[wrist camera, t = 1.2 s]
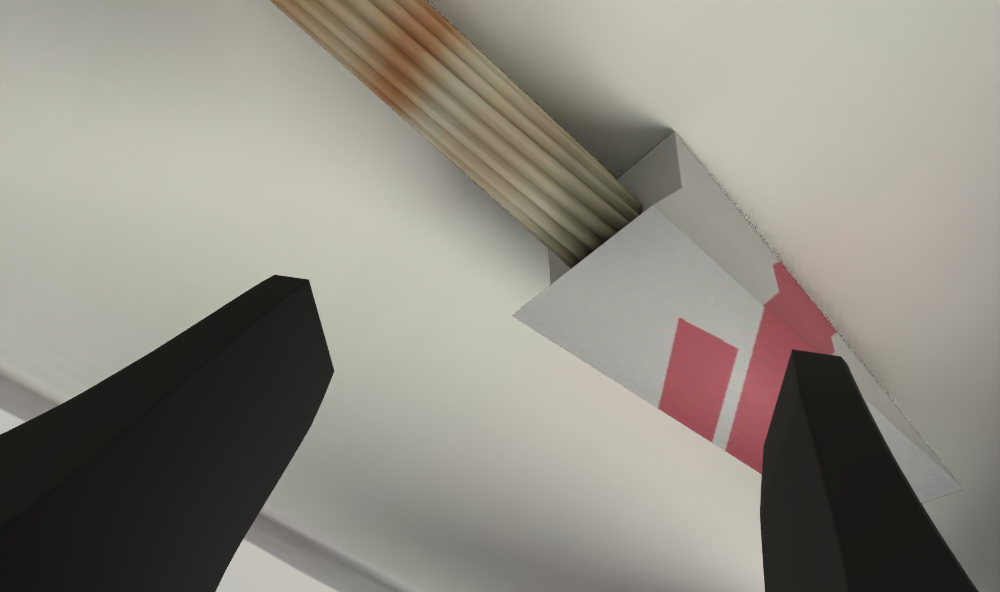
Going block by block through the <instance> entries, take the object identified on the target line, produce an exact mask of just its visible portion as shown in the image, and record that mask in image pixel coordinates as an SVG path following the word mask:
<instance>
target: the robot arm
mask: <svg viewBox="0 0 1000 592" xmlns="http://www.w3.org/2000/svg"><path fill="white" fill-rule="evenodd" d="M333 373H334V368H333V365H332V361H331V358H330V354H329V350H328V347H327V343H326V340H325V336H324V333H323V329H322V325H321V322H320V318H319V315H318V311H317V307H316V304H315V300H314V297H313V293H312V290H311V286H310V282H309V280H307V279H300V278H293V277H286V276H279V275H274V276H272V277H270V278H268V279H266V280H265V281H263V282H261V283H260V284H258V285H256V286H255V287H253V288H251V289H250V290H248V291H246V292H245V293H243V294H242V295H240V296H239V297H237V298H235V299H234V300H232V301H231V302H229V303H228V304H226V305H224V306H223V307H221V308H220V309H218V310H217V311H215V312H214V313H212V314H211V315H209V316H207V317H206V318H204V319H203V320H201V321H200V322H198V323H197V324H195V325H193V326H192V327H190V328H189V329H187V330H186V331H184V332H182V333H181V334H179V335H178V336H176V337H175V338H173V339H171V340H170V341H168V342H167V343H165V344H164V345H162V346H160V347H159V348H157V349H156V350H154V351H152V352H151V353H149V354H148V355H146V356H144V357H143V358H141V359H139V360H137V361H136V362H134V363H132V364H131V365H129V366H127V367H126V368H124V369H122V370H120V371H119V372H117V373H115V374H114V375H112V376H110V377H109V378H107V379H105V380H103V381H102V382H100V383H98V384H97V385H95V386H93V387H92V388H90V389H88V390H86V391H85V392H83V393H81V394H79V395H77V396H76V397H74V398H72V399H70V400H68V401H66V402H64V403H63V404H61V405H59V406H57V407H55V408H53V409H51V410H49V411H47V412H45V413H43V414H41V415H39V416H37V417H35V418H33V419H31V420H29V421H27V422H25V423H23V424H21V425H19V426H17V427H15V428H13V429H11V430H9V431H7V432H5V433H3V434H1V435H0V592H215V591H216V589H217V587H218V585H219V583H220V581H221V578H222V577H223V575H224V573H225V570H226V569H227V567H228V565H229V563H230V561H231V559H232V558H233V556H234V554H235V552H236V550H237V548H238V547H239V545H240V543H241V542H242V540H243V538H244V537H245V535H246V533H247V532H248V530H249V528H250V527H251V525H252V523H253V522H254V520H255V519H256V517H257V515H258V514H259V512H260V510H261V509H262V507H263V505H264V504H265V502H266V500H267V499H268V497H269V495H270V494H271V492H272V491H273V489H274V487H275V486H276V484H277V482H278V481H279V479H280V477H281V476H282V474H283V472H284V471H285V469H286V467H287V466H288V464H289V462H290V461H291V459H292V457H293V456H294V454H295V452H296V451H297V449H298V447H299V446H300V444H301V442H302V441H303V439H304V437H305V435H306V434H307V432H308V430H309V428H310V427H311V425H312V422H313V420H314V418H315V416H316V414H317V411H318V409H319V407H320V405H321V402H322V400H323V398H324V395H325V393H326V390H327V388H328V385H329V383H330V381H331V378H332V376H333ZM760 521H761V537H762V553H763V568H764V582H765V592H979V591H978V590H977V588H976V587H975V586H974V584H973V583H972V581H971V580H970V578H969V577H968V575H967V574H966V572H965V571H964V569H963V568H962V566H961V565H960V563H959V562H958V560H957V559H956V557H955V556H954V554H953V553H952V551H951V550H950V548H949V547H948V545H947V544H946V542H945V541H944V539H943V538H942V536H941V535H940V533H939V531H938V530H937V528H936V527H935V525H934V523H933V522H932V520H931V519H930V517H929V515H928V514H927V512H926V511H925V509H924V507H923V506H922V504H921V502H920V500H919V499H918V497H917V495H916V494H915V492H914V490H913V489H912V487H911V485H910V483H909V482H908V480H907V478H906V477H905V475H904V473H903V471H902V470H901V468H900V466H899V465H898V463H897V461H896V459H895V458H894V456H893V454H892V452H891V450H890V448H889V447H888V445H887V443H886V441H885V439H884V437H883V435H882V434H881V432H880V430H879V428H878V426H877V424H876V422H875V420H874V418H873V416H872V414H871V412H870V410H869V408H868V406H867V404H866V402H865V400H864V398H863V396H862V394H861V392H860V390H859V388H858V386H857V384H856V382H855V380H854V377H853V375H852V373H851V371H850V369H849V366H848V364H847V363H846V362H845V360H844V359H843V358H842V357H841V356H836V355H829V354H822V353H815V352H808V351H801V350H794V349H792V351H791V355H790V358H789V362H788V365H787V368H786V372H785V375H784V378H783V382H782V385H781V389H780V392H779V395H778V399H777V402H776V406H775V409H774V412H773V416H772V419H771V423H770V426H769V429H768V433H767V436H766V440H765V443H764V446H763V464H762V482H761V505H760Z"/></svg>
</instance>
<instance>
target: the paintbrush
mask: <svg viewBox="0 0 1000 592" xmlns="http://www.w3.org/2000/svg"><path fill="white" fill-rule="evenodd" d="M270 1H271V2H272V3H273V4H275V5H276V6H277V7H278V8H279V9H280V10H281V11H282V12H284V13H285V14H286V15H287V16H288V17H289V18H290V19H292V20H293V21H294V22H295V23H296V24H297V25H298V26H299V27H301V28H302V29H303V30H304V31H305V32H306V33H307V34H308V35H310V36H311V37H312V38H313V39H314V40H315V41H316V42H318V43H319V44H320V45H321V46H322V47H323V48H324V49H325V50H327V51H328V52H329V53H330V54H331V55H332V56H333V57H334V58H336V59H337V60H338V61H339V62H340V63H341V64H342V65H343V66H345V67H346V68H347V69H348V70H349V71H350V72H351V73H353V74H354V75H355V76H356V77H357V78H358V79H359V80H360V81H362V82H363V83H364V84H365V85H366V86H367V87H368V88H369V89H371V90H372V91H373V92H374V93H375V94H376V95H377V96H379V97H380V98H381V99H382V100H383V101H384V102H385V103H386V104H388V105H389V106H390V107H391V108H392V109H393V110H394V111H395V112H397V113H398V114H399V115H400V116H401V117H402V118H403V119H405V120H406V121H407V122H408V123H409V124H410V125H411V126H412V127H414V128H415V129H416V130H417V131H418V132H419V133H420V134H421V135H423V136H424V137H425V138H426V139H427V140H428V141H429V142H430V143H432V144H433V145H434V146H435V147H436V148H437V149H439V150H440V151H441V152H442V153H443V154H444V155H445V156H447V157H448V158H449V159H450V160H451V161H452V162H454V163H455V164H456V165H457V166H458V167H459V168H460V169H461V170H463V171H464V172H465V173H466V174H467V175H468V176H469V177H470V178H471V179H472V180H474V181H475V182H476V183H477V184H478V185H479V186H480V187H481V188H482V189H483V190H485V191H486V192H487V193H488V194H489V195H490V196H491V197H492V198H493V199H494V200H496V201H497V202H498V203H499V204H500V205H501V206H502V207H503V208H504V209H505V210H507V211H508V212H509V213H510V214H511V215H512V216H513V217H514V218H515V219H517V220H518V221H519V222H520V223H521V224H522V225H523V226H524V227H525V228H526V229H528V230H529V231H530V232H531V233H532V234H533V235H534V236H535V237H536V238H538V239H539V240H540V241H541V242H542V243H543V244H544V245H545V246H546V247H547V248H548V251H549V265H550V279H551V285H550V286H549V287H547V288H546V289H545V290H544V291H542V292H541V293H540V294H538V295H537V296H536V297H535V298H533V299H532V300H531V301H529V302H528V303H527V304H526V305H524V306H523V307H522V308H521V309H519V310H518V311H517V312H515V313H514V314H513V315H512V316H513V317H515V318H516V319H518V320H519V321H521V322H522V323H524V324H526V325H527V326H529V327H530V328H532V329H534V330H535V331H537V332H538V333H540V334H541V335H543V336H545V337H546V338H548V339H549V340H551V341H552V342H554V343H556V344H557V345H559V346H560V347H562V348H564V349H565V350H567V351H568V352H570V353H571V354H573V355H575V356H576V357H578V358H579V359H581V360H582V361H584V362H586V363H587V364H589V365H590V366H592V367H594V368H595V369H597V370H598V371H600V372H601V373H603V374H605V375H606V376H608V377H609V378H611V379H612V380H614V381H616V382H617V383H619V384H620V385H622V386H623V387H625V388H627V389H628V390H630V391H631V392H633V393H635V394H636V395H638V396H639V397H641V398H642V399H644V400H646V401H647V402H649V403H650V404H652V405H653V406H655V407H657V408H658V409H660V410H661V411H663V412H665V413H666V414H668V415H669V416H671V417H672V418H674V419H676V420H677V421H679V422H680V423H682V424H683V425H685V426H687V427H688V428H690V429H691V430H693V431H695V432H696V433H698V434H699V435H701V436H702V437H704V438H706V439H707V440H709V441H710V442H712V443H713V444H715V445H717V446H718V447H720V448H721V449H723V450H725V451H726V452H728V453H729V454H731V455H732V456H734V457H736V458H737V459H739V460H740V461H742V462H743V463H745V464H747V465H748V466H750V467H751V468H753V469H755V470H756V471H758V472H759V473H761V474H762V464H763V446H764V443H765V440H766V436H767V433H768V429H769V426H770V423H771V419H772V416H773V412H774V409H775V406H776V402H777V399H778V395H779V392H780V389H781V385H782V382H783V378H784V375H785V372H786V368H787V365H788V362H789V358H790V355H791V351H792V349H794V350H801V351H808V352H815V353H822V354H829V355H836V356H841V357H842V358H843V359H844V360H845V362H846V363H847V364H848V366H849V369H850V371H851V373H852V375H853V377H854V380H855V382H856V384H857V386H858V388H859V390H860V392H861V394H862V396H863V398H864V400H865V402H866V404H867V406H868V408H869V410H870V412H871V414H872V416H873V418H874V420H875V422H876V424H877V426H878V428H879V430H880V432H881V434H882V435H883V437H884V439H885V441H886V443H887V445H888V447H889V448H890V450H891V452H892V454H893V456H894V458H895V459H896V461H897V463H898V465H899V466H900V468H901V470H902V471H903V473H904V475H905V477H906V478H907V480H908V482H909V483H910V485H911V487H912V489H913V490H914V492H915V494H916V495H917V497H918V499H919V500H920V502H921V503H923V502H926V501H930V500H933V499H936V498H939V497H942V496H945V495H948V494H951V493H954V492H958V491H961V490H964V489H963V488H962V486H961V485H960V484H959V483H958V481H957V480H956V479H955V478H954V476H953V475H952V474H951V473H950V472H949V470H948V469H947V468H946V467H945V465H944V464H943V463H942V462H941V460H940V459H939V458H938V457H937V455H936V454H935V453H934V452H933V450H932V449H931V448H930V447H929V446H928V444H927V443H926V442H925V441H924V439H923V438H922V437H921V436H920V434H919V433H918V432H917V431H916V429H915V428H914V427H913V426H912V424H911V423H910V422H909V421H908V419H907V418H906V417H905V416H904V415H903V413H902V412H901V411H900V410H899V408H898V407H897V406H896V405H895V403H894V402H893V401H892V400H891V398H890V397H889V396H888V395H887V393H886V392H885V391H884V390H883V388H882V387H881V386H880V385H879V384H878V382H877V381H876V380H875V379H874V377H873V376H872V375H871V374H870V372H869V371H868V370H867V369H866V367H865V366H864V365H863V364H862V362H861V361H860V360H859V359H858V358H857V356H856V355H855V354H854V353H853V351H852V350H851V349H850V348H849V346H848V345H847V344H846V343H845V341H844V340H843V339H842V338H841V336H840V335H839V334H838V333H837V331H836V330H835V329H834V328H833V327H832V325H831V324H830V323H829V322H828V320H827V319H826V318H825V317H824V315H823V314H822V313H821V312H820V310H819V309H818V308H817V307H816V305H815V304H814V303H813V302H812V300H811V299H810V298H809V297H808V296H807V294H806V293H805V292H804V291H803V289H802V288H801V287H800V286H799V284H798V283H797V282H796V281H795V279H794V278H793V277H792V276H791V274H790V273H789V272H788V271H787V270H786V268H785V267H784V266H783V265H782V263H781V262H780V261H779V260H778V258H777V257H776V256H775V255H774V253H773V252H772V251H771V250H770V248H769V247H768V246H767V245H766V243H765V242H764V241H763V240H762V239H761V237H760V236H759V235H758V234H757V232H756V231H755V230H754V229H753V227H752V226H751V225H750V224H749V222H748V221H747V220H746V219H745V217H744V216H743V215H742V214H741V212H740V211H739V210H738V209H737V208H736V206H735V205H734V204H733V203H732V201H731V200H730V199H729V198H728V196H727V195H726V194H725V193H724V191H723V190H722V189H721V188H720V186H719V185H718V184H717V183H716V181H715V180H714V179H713V178H712V177H711V175H710V174H709V173H708V172H707V170H706V169H705V168H704V167H703V165H702V164H701V163H700V162H699V160H698V159H697V158H696V157H695V155H694V154H693V153H692V152H691V151H690V149H689V148H688V147H687V146H686V144H685V143H684V142H683V141H682V139H681V138H680V137H679V136H678V134H677V133H676V132H675V131H673V132H672V133H671V134H670V135H669V136H668V137H666V138H665V139H664V140H663V141H662V142H661V143H659V144H658V145H657V146H656V147H655V148H654V149H652V150H651V151H650V152H649V153H648V154H646V155H645V156H644V157H643V158H642V159H641V160H639V161H638V162H637V163H636V164H635V165H634V166H632V167H631V168H630V169H629V170H628V171H627V172H625V173H624V174H623V175H622V176H621V177H619V178H618V179H617V180H616V179H615V178H614V177H613V176H612V175H611V174H610V173H609V172H608V171H607V170H606V169H605V168H604V167H603V166H602V165H601V164H600V163H599V162H598V161H597V160H596V159H595V158H594V157H593V156H592V155H591V154H589V153H588V152H587V151H586V150H585V149H584V148H583V147H582V146H581V145H580V144H579V143H578V142H577V141H576V140H574V139H573V138H572V137H571V136H570V135H569V134H568V133H567V132H566V131H565V130H564V129H563V128H562V127H561V126H559V125H558V124H557V123H556V122H555V121H554V120H553V119H552V118H551V117H550V116H549V115H548V114H547V113H546V112H545V111H543V110H542V109H541V108H540V107H539V106H538V105H537V104H536V103H535V102H534V101H533V100H532V99H531V98H530V97H528V96H527V95H526V94H525V93H524V92H523V91H522V90H521V89H520V88H519V87H518V86H517V85H516V84H515V83H513V82H512V81H511V80H510V79H509V78H508V77H507V76H506V75H505V74H504V73H503V72H502V71H501V70H500V69H498V68H497V67H496V66H495V65H494V64H493V63H492V62H491V61H490V60H489V59H488V58H487V57H486V56H485V55H483V54H482V53H481V52H480V51H479V50H478V49H477V48H476V47H475V46H474V45H473V44H472V43H471V42H469V41H468V40H467V39H466V38H465V37H464V36H463V35H462V34H461V33H460V32H459V31H458V30H457V29H455V28H454V27H453V26H452V25H451V24H450V23H449V22H448V21H447V20H446V19H445V18H444V17H442V16H441V15H440V14H439V13H438V12H437V11H436V10H435V9H434V8H433V7H432V6H431V5H430V4H428V3H427V2H426V1H425V0H270Z"/></svg>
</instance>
